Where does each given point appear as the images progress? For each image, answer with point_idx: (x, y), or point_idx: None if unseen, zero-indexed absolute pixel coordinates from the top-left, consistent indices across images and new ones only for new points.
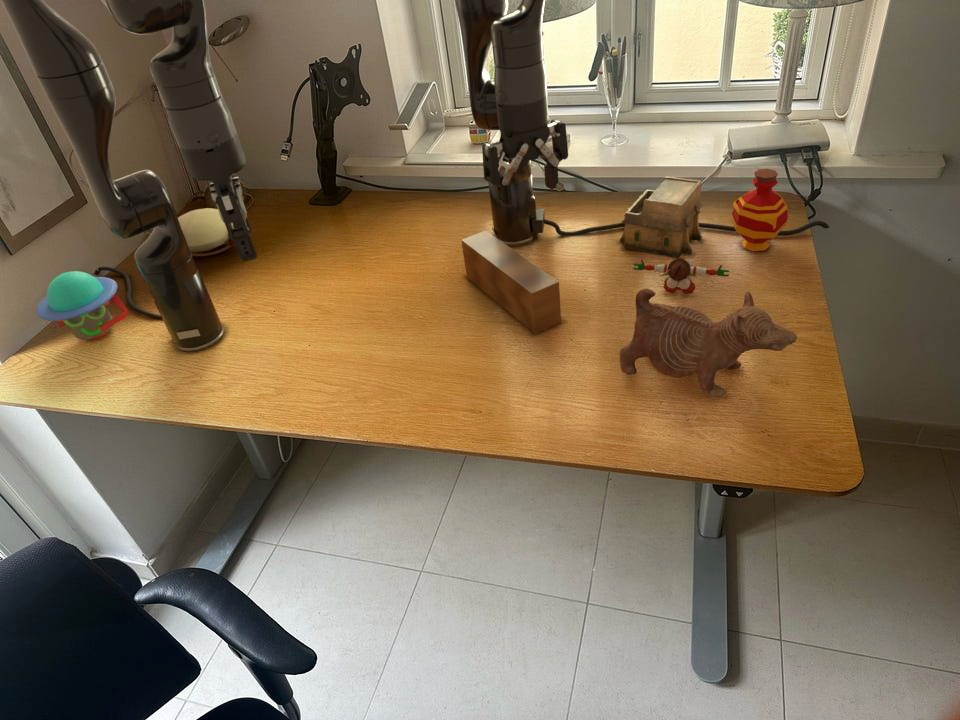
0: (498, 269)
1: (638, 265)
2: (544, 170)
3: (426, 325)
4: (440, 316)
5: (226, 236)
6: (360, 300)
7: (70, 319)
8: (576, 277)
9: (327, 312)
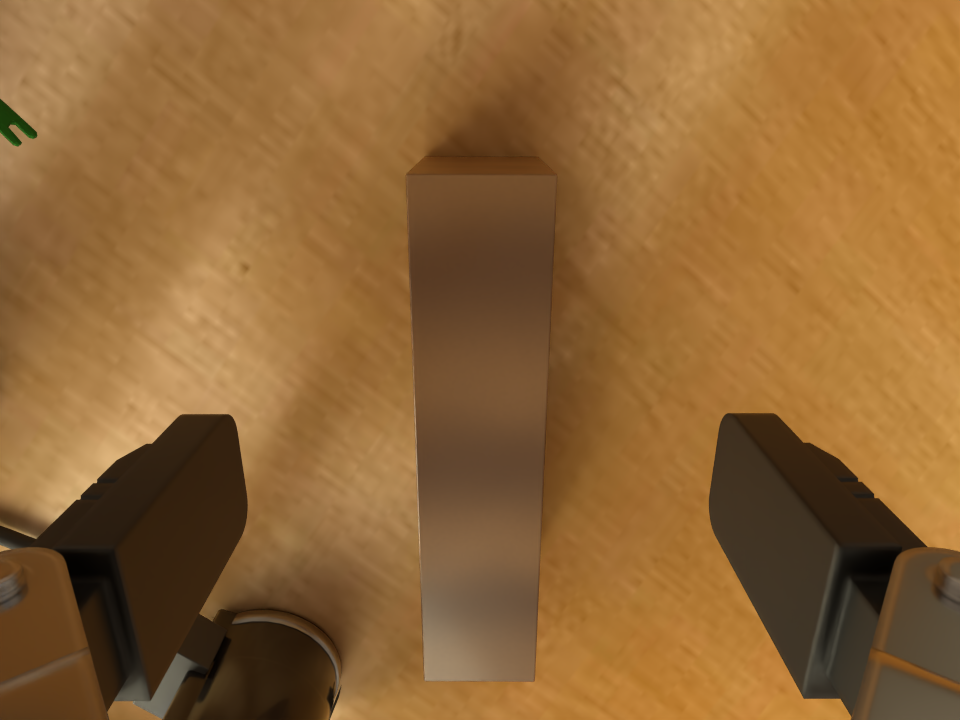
0: (545, 433)
1: (3, 123)
2: (184, 638)
3: None
4: (713, 445)
5: None
6: None
7: None
8: (227, 352)
9: None
